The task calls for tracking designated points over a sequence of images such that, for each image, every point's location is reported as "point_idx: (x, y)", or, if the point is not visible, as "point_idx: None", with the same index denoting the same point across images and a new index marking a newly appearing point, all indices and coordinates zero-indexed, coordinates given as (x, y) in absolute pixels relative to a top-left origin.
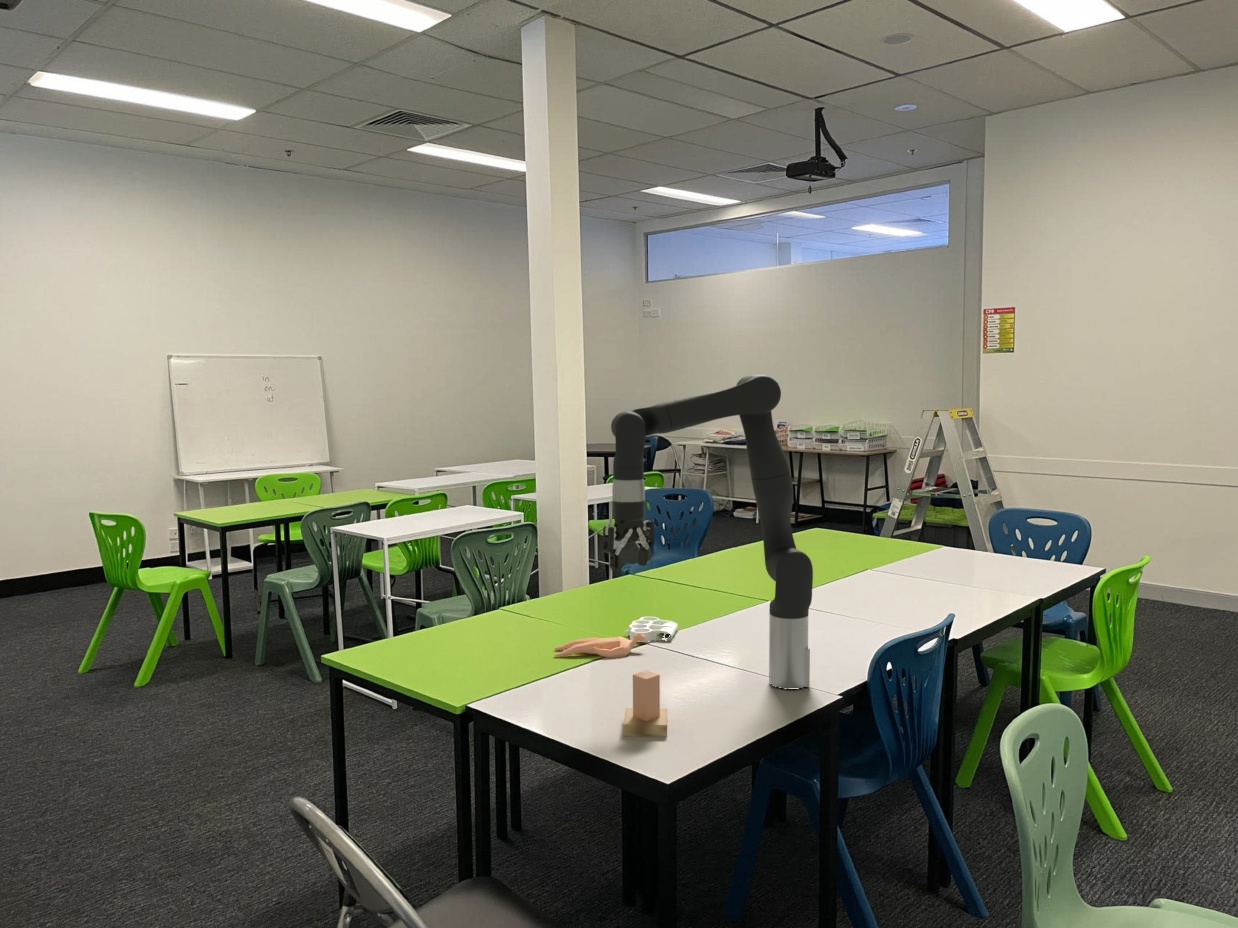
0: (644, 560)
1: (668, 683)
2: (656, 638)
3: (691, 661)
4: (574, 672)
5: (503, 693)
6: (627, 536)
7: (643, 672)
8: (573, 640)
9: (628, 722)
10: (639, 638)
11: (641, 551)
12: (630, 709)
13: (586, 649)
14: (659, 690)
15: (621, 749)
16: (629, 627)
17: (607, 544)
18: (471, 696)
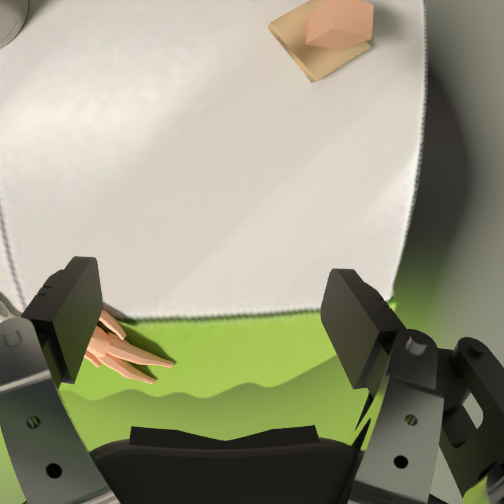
0: (83, 272)
1: (116, 146)
2: (9, 314)
3: (16, 204)
4: (197, 302)
5: None
6: (386, 485)
7: (346, 26)
8: (129, 376)
9: (361, 44)
10: None
11: (66, 345)
12: (316, 70)
13: (129, 346)
14: (323, 2)
15: (395, 31)
16: None
17: (446, 431)
18: None
